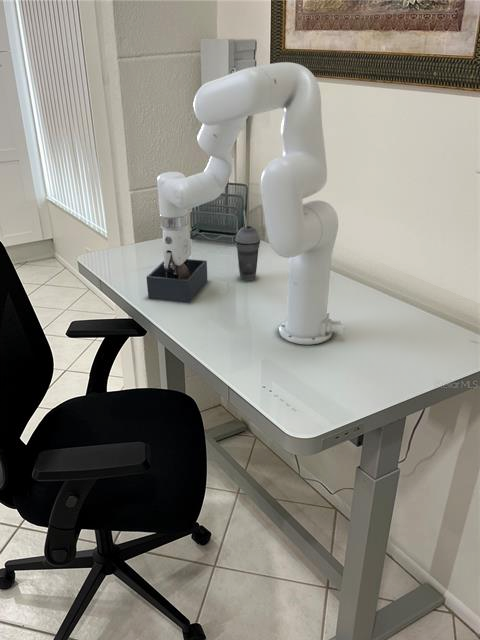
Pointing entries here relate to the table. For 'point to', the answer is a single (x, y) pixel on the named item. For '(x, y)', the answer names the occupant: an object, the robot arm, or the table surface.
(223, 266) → the table surface
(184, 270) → the vase
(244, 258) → the beverage cup
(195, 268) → the dark grey open box
